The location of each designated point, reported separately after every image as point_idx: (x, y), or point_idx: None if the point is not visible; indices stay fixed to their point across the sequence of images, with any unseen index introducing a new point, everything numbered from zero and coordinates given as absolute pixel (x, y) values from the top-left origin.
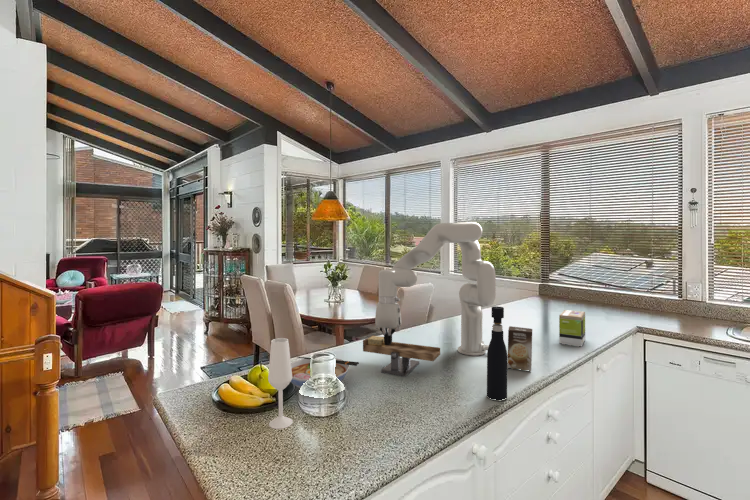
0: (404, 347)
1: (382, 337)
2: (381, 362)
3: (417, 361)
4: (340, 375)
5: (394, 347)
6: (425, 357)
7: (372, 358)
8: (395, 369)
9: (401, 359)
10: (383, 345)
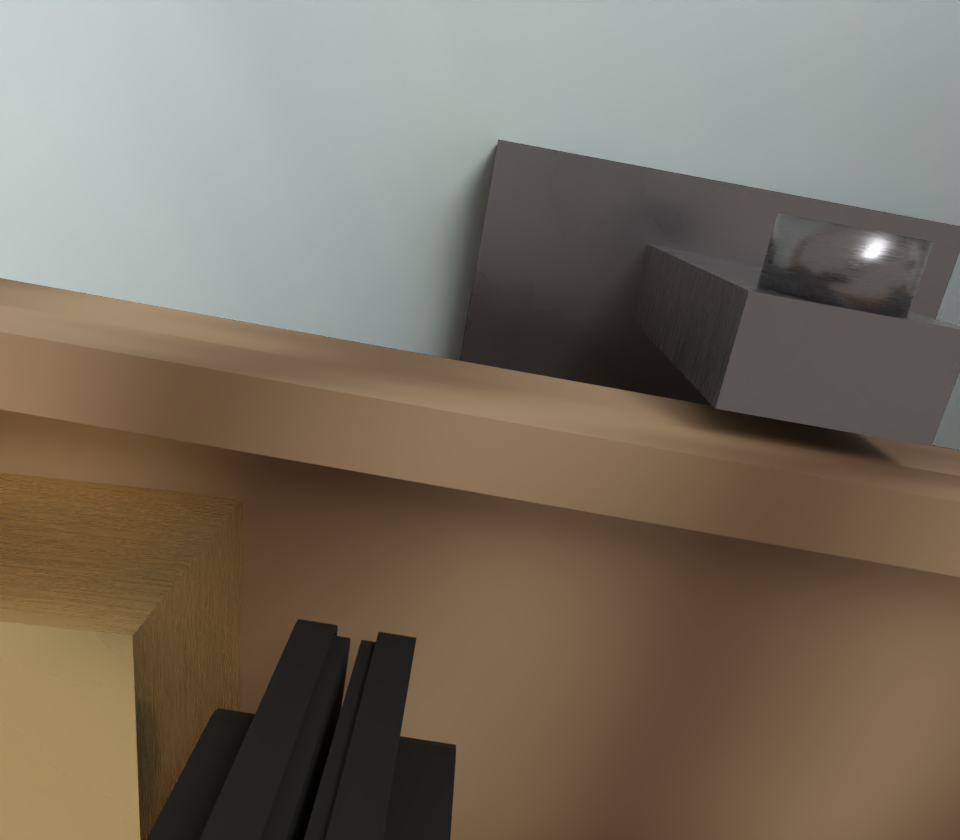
0: (799, 561)
1: (30, 703)
2: None
3: (929, 266)
4: None
5: (525, 615)
6: None
7: (5, 165)
8: None
9: (602, 234)
10: (224, 691)
